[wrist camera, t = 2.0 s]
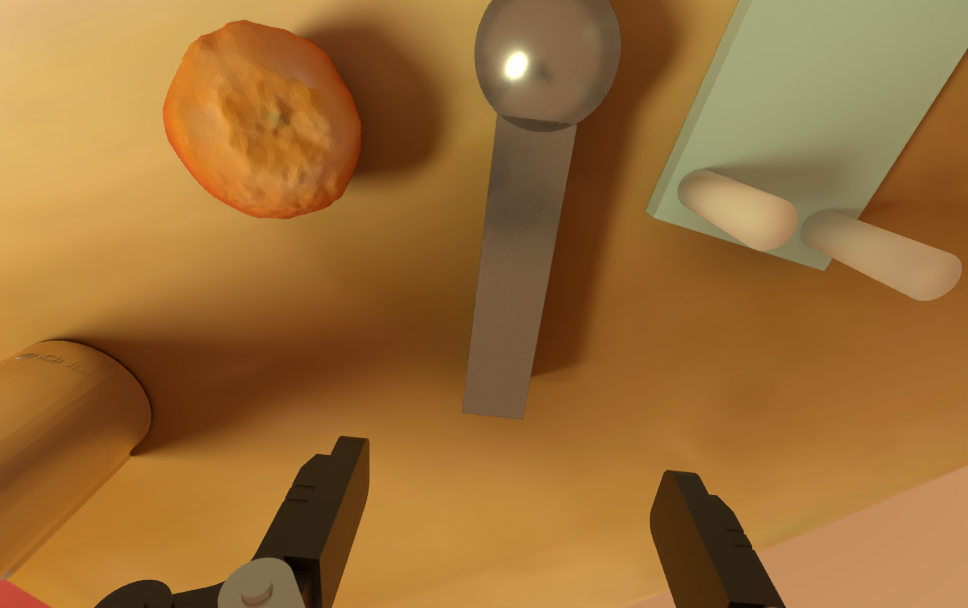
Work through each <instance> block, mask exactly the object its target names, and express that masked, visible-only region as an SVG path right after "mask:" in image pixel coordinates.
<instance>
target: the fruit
mask: <svg viewBox="0 0 968 608" xmlns="http://www.w3.org/2000/svg"><path fill="white" fill-rule="evenodd" d="M163 119H164V125H165V131H166V134H167V137H168V140H169V143H170V144H171V146H172V147H173V149H174V151H175V152H176V154H177V155H178V157H179V158H180V159H181V161H182V162H183V164H184V165H185V167H186V168H187V169H188V171H189V172H190V173H191V174H192V176H193V177H194V178H195V179H196V180H197V182H198V183H199V184H200V185H201V186H202V187H203V188H204V189H205V190H206V191H208V192H209V193H210V194H211V195H213V196H214V197H215V198H217V199H218V200H220V201H222V202H224V203H225V204H227V205H229V206H231V207H233V208H235V209H237V210H239V211H241V212H243V213H245V214H247V215H250V216H253V217H257V218H279V219H289V218H292V217H295V216H299V215H304V214H307V213H310V212H314V211H317V210H321V209H323V208H326V207H328V206H329V205H331V204H332V203H333V202H334V201H335V200H338V199H339V198H340V197H341V196H342V195H343V193H344V191H345V189H346V187H347V185H348V183H349V181H350V179H351V177H352V174H353V172H354V170H355V167H356V164H357V161H358V159H359V155H360V150H361V143H362V136H361V128H362V126H361V122H360V119H359V116H358V113H357V109H356V106H355V102H354V99H353V96H352V94H351V93H350V91H349V90H348V88H347V87H346V86H345V84H344V83H343V81H342V79H341V77H340V75H339V73H338V71H337V69H336V67H335V66H334V64H333V62H332V60H331V59H330V57H329V56H328V55H327V54H326V53H325V52H324V51H322V50H321V49H320V48H319V47H317V46H316V45H315V44H313V43H312V42H310V41H309V40H307V39H304V38H302V37H299V36H297V35H295V34H293V33H291V32H289V31H287V30H285V29H279V28H274V27H269V26H265V25H261V24H256V23H253V22H249V21H247V20H242V21H236V22H229V23H227V24H226V25H225V26H224V27H223V28H221V29H219V30H217V31H215V32H212V33H210V34H207V35H203V36H200V37H199V38H198V39H197V40H196V41H195V42H194V43H192V44H191V45H190V46H189V47H188V50H187V51H186V53H185V54H184V56H183V58H182V62H181V64H180V66H179V69H178V71H177V73H176V75H175V77H174V79H173V81H172V83H171V85H170V88H169V90H168V93H167V96H166V100H165V103H164V107H163Z"/></svg>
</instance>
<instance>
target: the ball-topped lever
mask: <svg viewBox="0 0 968 608" xmlns="http://www.w3.org/2000/svg"><path fill="white" fill-rule="evenodd" d="M620 55H621V36H620V29H619V24H618V20H617V17H616V14H615V12H614V9H613V7H612V5H611V3H610V1H609V0H492V1H491V3H490V4H489V5H488V7H487V9H486V11H485V13H484V15H483V17H482V20H481V22H480V25H479V28H478V32H477V36H476V42H475V67H476V72H477V77H478V80H479V84H480V87H481V89H482V91H483V93H484V95H485V97H486V99H487V100H488V102H489V103H490V105H491V106H492V107H493V108H494V110H495V111H496V112H497V122H496V130H495V139H494V147H493V155H492V164H491V172H490V181H489V189H488V198H487V206H486V215H485V223H484V231H483V240H482V248H481V257H480V265H479V274H478V282H477V291H476V299H475V308H474V316H473V324H472V333H471V341H470V350H469V358H468V367H467V375H466V384H465V392H464V401H463V410H462V413H469V414H478V415H487V416H496V417H505V418H513V419H522V420H523V415H524V409H525V404H526V398H527V393H528V388H529V382H530V377H531V372H532V366H533V361H534V355H535V350H536V345H537V339H538V334H539V328H540V323H541V318H542V312H543V307H544V301H545V296H546V291H547V285H548V280H549V275H550V269H551V264H552V258H553V253H554V248H555V242H556V237H557V231H558V226H559V221H560V215H561V210H562V204H563V199H564V194H565V188H566V183H567V177H568V172H569V167H570V161H571V156H572V151H573V145H574V140H575V134H576V129H577V123H579V122H580V121H582V120H583V119H585V118H586V117H587V116H589V115H590V114H591V113H592V112H593V111H594V110H595V109H596V108H597V107H598V106H599V105H600V104H601V102H602V101H603V100H604V98H605V97H606V95H607V94H608V92H609V90H610V88H611V86H612V84H613V82H614V79H615V77H616V74H617V70H618V66H619V61H620Z"/></svg>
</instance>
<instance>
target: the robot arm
mask: <svg viewBox="0 0 968 608" xmlns="http://www.w3.org/2000/svg"><path fill="white" fill-rule="evenodd" d="M150 424H151V408H150V404H149V400H148V398H147V396H146V394H145V392H144V390H143V388H142V387H141V385H140V384H139V383H138V381H137V380H136V379H135V377H134V376H133V375H132V374H131V373H130V372H129V371H128V370H127V369H125V368H124V367H123V366H122V365H121V364H119V363H118V362H117V361H115V360H114V359H112V358H111V357H110V356H108V355H106V354H104V353H102V352H100V351H98V350H96V349H94V348H91V347H88V346H85V345H82V344H79V343H74V342H68V341H46V342H41V343H37V344H34V345H32V346H30V347H28V348H27V349H25V350H23V351H21V352H19V353H17V354H15V355H13V356H12V357H10V358H8V359H6V360H4V361H2V362H1V363H0V580H3V579H6V578H8V577H10V576H12V575H13V574H14V573H15V572H16V571H17V570H18V569H19V568H20V567H21V566H22V565H23V564H24V563H25V562H26V561H27V560H28V559H29V558H30V557H31V556H32V555H33V554H34V553H35V552H36V551H37V550H38V549H39V548H41V547H42V546H43V545H44V544H45V543H46V542H47V541H48V540H49V539H50V538H51V537H52V536H53V535H54V534H55V533H56V532H57V531H58V530H59V529H60V528H61V527H62V526H63V525H64V524H65V523H66V522H67V521H68V520H69V519H70V518H71V517H72V516H73V515H74V514H75V513H76V512H77V511H78V510H79V509H80V508H81V507H82V506H83V505H84V504H85V503H86V502H87V501H88V500H89V499H90V498H91V497H92V496H93V495H94V494H95V493H96V492H97V491H98V490H99V489H100V488H101V487H102V486H103V485H104V484H105V483H106V482H107V481H108V480H109V479H110V478H111V477H112V476H113V475H114V474H115V473H116V472H117V471H118V470H119V469H120V468H121V467H122V466H123V465H124V464H125V463H126V462H127V461H128V460H129V459H130V451H131V450H132V449H133V448H134V447H135V446H136V445H137V444H138V443H139V442H141V441H142V439H143V438H144V437H145V435H146V434H147V433H148V431H149V427H150ZM368 490H369V439H367V438H357V437H347V436H340V437H339V438H338V440H337V442H336V444H335V447H334V449H333V451H332V453H331V455H323V454H316V455H315V456H314V457H313V458H311V459H310V460H309V461H308V462H307V463H306V464H305V465H303V466H302V467H301V469H300V471H299V472H298V474H297V476H296V478H295V480H294V482H293V484H292V488H290V489H289V491H288V493H287V495H286V497H285V501H284V502H283V503H282V505H281V506H280V508H279V510H278V512H277V514H276V516H275V518H274V520H273V522H272V524H271V525H270V527H269V529H268V531H267V533H266V535H265V537H264V539H263V541H262V542H261V544H260V546H259V548H258V550H257V552H256V554H255V555H254V557H253V559H252V560H251V561H250V562H248V563H246V564H244V565H243V566H241V567H240V568H238V569H237V570H236V571H234V572H233V573H232V574H231V575H230V576H229V577H228V578H227V580H226V581H224V582H222V583H219V584H217V585H213V586H210V587H206V588H201V589H196V590H191V591H186V592H182V593H177V594H172V593H171V591H170V589H169V587H168V586H167V585H166V584H164V583H163V582H160V581H157V580H141V581H136V582H133V583H130V584H127V585H125V586H123V587H121V588H119V589H117V590H115V591H114V592H112V593H111V594H109V595H108V596H106V597H105V598H104V599H103V600H101V601H100V602H99V603H98V604H97V605H96V606H95V607H94V608H332V606H333V602H334V599H335V596H336V593H337V590H338V587H339V584H340V581H341V578H342V575H343V572H344V569H345V566H346V563H347V560H348V557H349V553H350V550H351V547H352V544H353V541H354V538H355V535H356V532H357V529H358V526H359V523H360V520H361V517H362V514H363V511H364V508H365V504H366V500H367V496H368ZM650 529H651V534H652V537H653V540H654V543H655V546H656V549H657V552H658V555H659V558H660V561H661V564H662V567H663V570H664V573H665V576H666V579H667V582H668V585H669V588H670V591H671V594H672V597H673V599H674V603H675V605H676V608H786V607H785V605H784V603H783V602H782V600H781V598H780V596H779V594H778V592H777V591H776V589H775V587H774V585H773V583H772V581H771V580H770V578H769V576H768V574H767V572H766V571H765V569H764V567H763V565H762V563H761V561H760V560H759V558H758V556H757V554H756V552H755V550H752V545H751V543H750V541H749V539H748V538H747V536H746V535H745V534H744V530H743V529H742V527H741V525H740V523H739V521H738V519H737V518H736V516H735V514H734V512H733V511H732V510H731V509H730V508H729V507H728V506H727V505H726V504H725V503H724V502H723V501H722V500H721V499H720V498H719V497H718V496H717V495H709V494H708V492H707V490H706V488H705V486H704V484H703V482H702V480H701V479H700V477H699V476H698V474H696V473H691V472H682V471H672V470H667V471H665V473H664V474H663V477H662V480H661V483H660V486H659V488H658V491H657V494H656V497H655V500H654V503H653V506H652V509H651V513H650Z"/></svg>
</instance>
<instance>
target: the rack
mask: <svg viewBox="0 0 968 608" xmlns="http://www.w3.org/2000/svg"><path fill="white" fill-rule="evenodd" d="M967 49H968V0H739V2H738V4H737V7H736V9H735V11H734V13H733V15H732V18H731V20H730V22H729V24H728V27H727V29H726V31H725V33H724V36H723V38H722V40H721V42H720V45H719V47H718V49H717V51H716V54H715V56H714V58H713V60H712V63H711V65H710V67H709V69H708V71H707V74H706V76H705V78H704V80H703V83H702V85H701V87H700V89H699V92H698V94H697V96H696V98H695V101H694V103H693V105H692V107H691V110H690V112H689V114H688V116H687V119H686V121H685V123H684V125H683V127H682V130H681V132H680V134H679V136H678V139H677V141H676V143H675V145H674V148H673V150H672V152H671V154H670V157H669V159H668V161H667V163H666V166H665V168H664V170H663V172H662V175H661V177H660V179H659V181H658V183H657V186H656V188H655V190H654V192H653V195H652V197H651V199H650V201H649V204H648V206H647V208H646V210H645V211H646V212H647V213H648V214H649V215H650V216H652V217H653V218H655V219H659V220H662V221H665V222H668V223H671V224H675V225H678V226H681V227H684V228H687V229H691V230H694V231H697V232H700V233H703V234H707V235H710V236H713V237H716V238H719V239H723V240H726V241H729V242H732V243H735V244H739V245H742V246H745V247H748V248H751V249H755V250H758V251H761V252H764V253H767V254H771V255H774V256H777V257H780V258H783V259H787V260H790V261H793V262H796V263H799V264H803V265H806V266H809V267H812V268H815V269H819V270H822V271H825V269H826V268H827V266H828V265H829V263H830V262H831V260H832V259H833V258H834V259H835V260H837V261H839V262H841V263H843V264H845V265H847V266H849V267H851V268H853V269H855V270H857V271H859V272H861V273H863V274H865V275H867V276H869V277H871V278H873V279H875V280H877V281H879V282H881V283H883V284H885V285H887V286H889V287H891V288H893V289H895V290H897V291H899V292H901V293H903V294H905V295H907V296H909V297H911V298H913V299H915V300H919V301H929V300H934V299H937V298H939V297H941V296H943V295H945V294H946V293H948V292H949V291H950V290H951V289H952V288H953V287H954V286H955V285H956V284H957V282H958V281H959V279H960V276H961V273H962V264H961V261H960V260H959V258H958V257H957V256H955V255H953V254H951V253H948V252H945V251H942V250H940V249H937V248H934V247H931V246H929V245H926V244H923V243H920V242H918V241H915V240H912V239H909V238H907V237H904V236H901V235H898V234H895V233H893V232H890V231H887V230H884V229H882V228H879V227H876V226H873V225H871V224H868V223H865V222H862V221H860V220H858V218H859V217H860V215H861V213H862V212H863V210H864V209H865V207H866V206H867V204H868V203H869V201H870V199H871V198H872V196H873V195H874V193H875V192H876V190H877V189H878V187H879V185H880V184H881V182H882V181H883V179H884V178H885V176H886V175H887V173H888V171H889V170H890V168H891V167H892V165H893V164H894V162H895V161H896V159H897V157H898V156H899V154H900V153H901V151H902V150H903V148H904V147H905V145H906V143H907V142H908V140H909V139H910V137H911V136H912V134H913V133H914V131H915V129H916V128H917V126H918V125H919V123H920V122H921V120H922V119H923V117H924V115H925V114H926V112H927V111H928V109H929V108H930V106H931V105H932V103H933V101H934V100H935V98H936V97H937V95H938V94H939V92H940V91H941V89H942V87H943V86H944V84H945V83H946V81H947V80H948V78H949V77H950V75H951V73H952V72H953V70H954V69H955V67H956V66H957V64H958V63H959V61H960V59H961V58H962V56H963V55H964V53H965V52H966V50H967Z"/></svg>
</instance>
